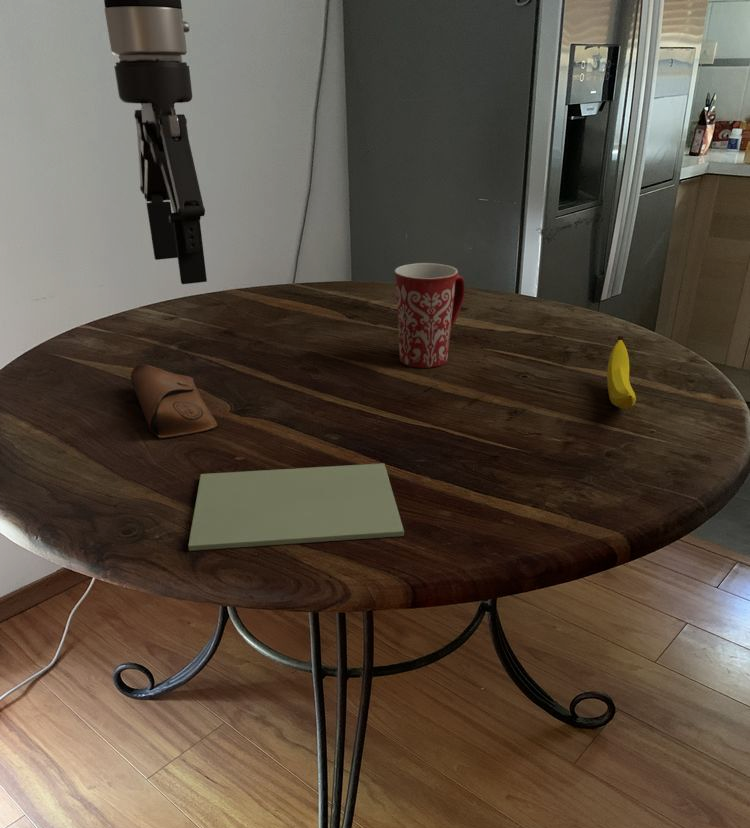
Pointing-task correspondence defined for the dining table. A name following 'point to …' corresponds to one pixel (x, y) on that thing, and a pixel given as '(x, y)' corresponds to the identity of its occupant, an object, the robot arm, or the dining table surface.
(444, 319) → the mug
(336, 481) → the mat
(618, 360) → the banana
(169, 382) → the sunglasses case
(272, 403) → the dining table surface
